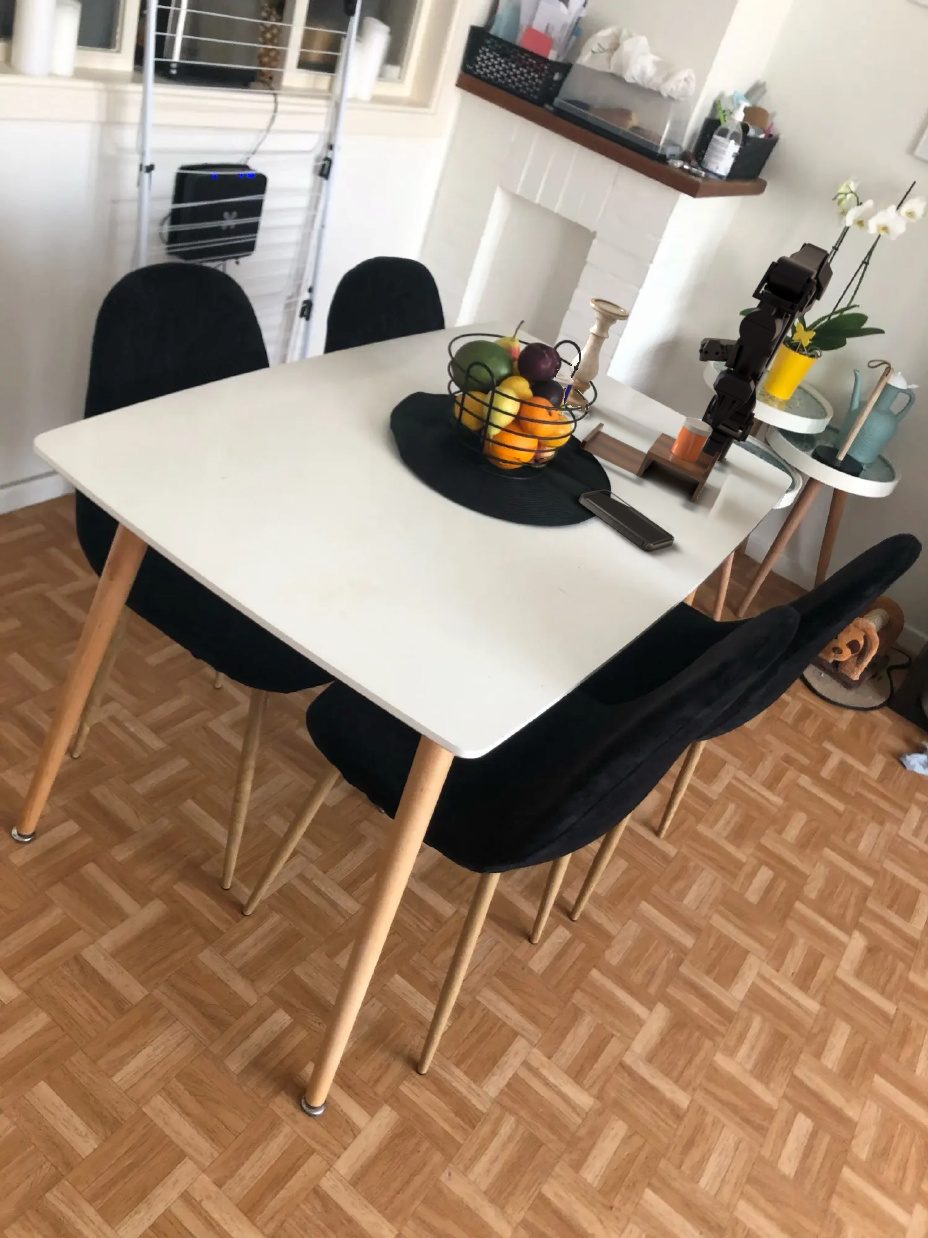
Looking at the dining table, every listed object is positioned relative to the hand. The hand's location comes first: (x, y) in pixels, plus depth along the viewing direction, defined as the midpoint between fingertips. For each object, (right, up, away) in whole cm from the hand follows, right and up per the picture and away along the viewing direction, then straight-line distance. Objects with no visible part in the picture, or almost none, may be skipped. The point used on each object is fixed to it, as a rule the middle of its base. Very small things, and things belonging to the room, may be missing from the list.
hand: (718, 419), depth 176 cm
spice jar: (-6, -6, -1) cm, 9 cm away
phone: (-19, -20, -18) cm, 33 cm away
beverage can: (-35, -8, -9) cm, 37 cm away
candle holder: (-25, +6, +18) cm, 31 cm away
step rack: (-13, -9, +3) cm, 16 cm away
